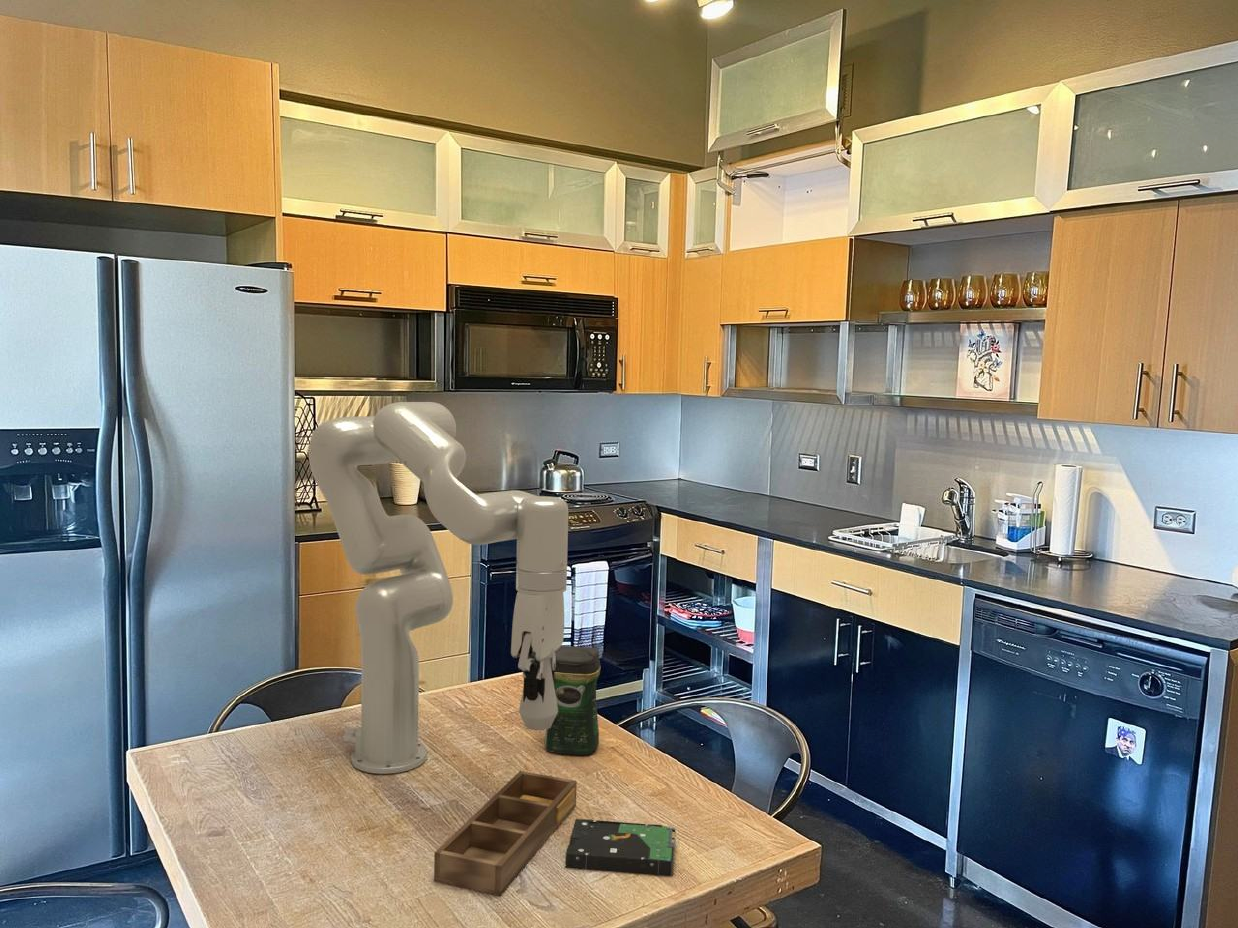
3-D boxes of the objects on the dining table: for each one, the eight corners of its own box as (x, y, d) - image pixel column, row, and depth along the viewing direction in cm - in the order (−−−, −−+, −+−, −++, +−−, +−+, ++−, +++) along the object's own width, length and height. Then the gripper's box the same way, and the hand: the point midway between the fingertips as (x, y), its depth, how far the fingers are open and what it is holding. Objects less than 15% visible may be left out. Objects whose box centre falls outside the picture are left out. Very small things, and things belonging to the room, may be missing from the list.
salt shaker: (551, 734, 137) (553, 648, 135) (514, 730, 138) (515, 645, 137) (561, 720, 142) (563, 637, 141) (526, 716, 143) (527, 634, 142)
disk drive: (564, 873, 126) (674, 879, 125) (565, 853, 126) (674, 860, 125) (574, 835, 136) (675, 841, 135) (574, 817, 136) (675, 823, 135)
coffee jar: (601, 741, 170) (604, 643, 168) (593, 758, 162) (597, 655, 161) (550, 736, 172) (553, 639, 170) (540, 753, 164) (542, 651, 162)
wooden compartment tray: (434, 881, 122) (434, 852, 121) (519, 794, 147) (520, 770, 147) (502, 896, 119) (503, 866, 118) (577, 805, 144) (578, 781, 144)
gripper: (539, 567, 147) (537, 680, 149) (494, 588, 131) (492, 714, 133) (584, 571, 145) (581, 686, 146) (543, 593, 129) (540, 721, 131)
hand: (538, 698), depth 140 cm, fingers closed on salt shaker, 3 cm apart
